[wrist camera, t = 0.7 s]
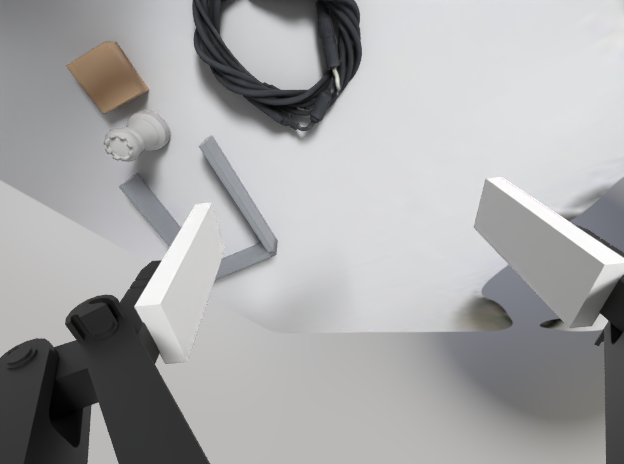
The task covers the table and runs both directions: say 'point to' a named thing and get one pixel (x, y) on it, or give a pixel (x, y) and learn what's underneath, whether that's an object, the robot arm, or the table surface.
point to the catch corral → (215, 156)
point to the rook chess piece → (137, 136)
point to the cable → (269, 96)
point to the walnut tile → (108, 76)
